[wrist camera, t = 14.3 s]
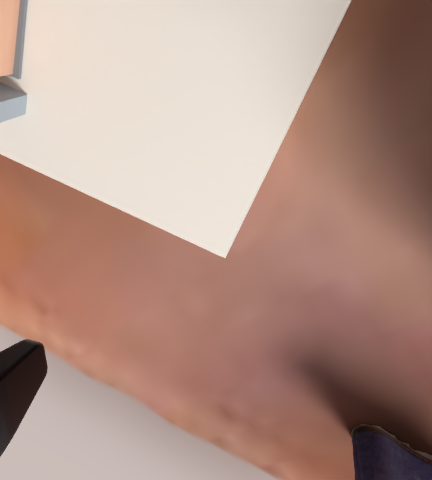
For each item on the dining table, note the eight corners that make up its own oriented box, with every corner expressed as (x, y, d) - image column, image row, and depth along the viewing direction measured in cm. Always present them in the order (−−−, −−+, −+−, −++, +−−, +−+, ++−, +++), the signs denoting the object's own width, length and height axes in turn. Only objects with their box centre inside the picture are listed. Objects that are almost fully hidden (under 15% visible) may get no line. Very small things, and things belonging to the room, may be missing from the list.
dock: (356, -13, 15) (365, -20, 11) (229, 247, 22) (211, 292, 18) (-119, -230, 15) (-254, -303, 12) (-95, 96, 22) (-175, 112, 19)
